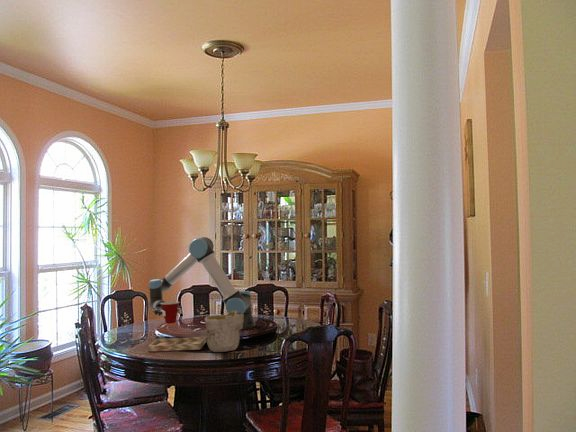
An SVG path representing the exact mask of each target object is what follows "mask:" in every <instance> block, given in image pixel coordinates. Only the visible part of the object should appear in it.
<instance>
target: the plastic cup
mask: <svg viewBox="0 0 576 432" xmlns="http://www.w3.org/2000/svg"><path fill="white" fill-rule="evenodd" d="M160 304H161V306H162V310H164V311H165V314H166V316H163V318H164V322H165V324H166V325H167V324H171V325H172V324H174V323H175V324H176V322H177V317H178V313H177V309H178V306H179V304H180V301H165V302H163V303H160Z"/></svg>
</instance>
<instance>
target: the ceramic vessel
mask: <svg viewBox="0 0 576 432" xmlns="http://www.w3.org/2000/svg"><path fill="white" fill-rule="evenodd" d="M243 318H244V315H243V314H242V313H239V312H237V311H231V312H230V313H228V312H227V314H220V315H219V314H214V315H209V316H205V318H204V323H205V329H206V343H207V346H208V349H209V350H210V351H211V352H212V353H223V352H231V351H235V350H237V348H238V347H239V345H240V330H244V329H243V322H244V319H243Z"/></svg>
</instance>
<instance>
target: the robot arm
mask: <svg viewBox="0 0 576 432" xmlns="http://www.w3.org/2000/svg"><path fill="white" fill-rule="evenodd" d="M214 246H215V245H214V242H213V240H212V239H211V238H209V237H205V236H203V237H197V238H195V239H193V240H192V241H191V242H190V243H189V245H188V252H189V253H188V254H187V255H186V256H185V257H184V258H183V259H182V260H181V261H180V262H179V263H178V264H176V266H174V267H173V268H172V269H171V270H170V271H169V272H168V273H167V274H166V275H164V276H163V278H161V279H159V278H156V279H150V280H149V281H148V283H149V285H148V287H149V288H148V289H149V302H148V306H149V308H150V310H152V312H153V313H154V315H155V316H157V315H158V316H163V317H164V316H166V314H165V311H164V310H162V306H161V304H160V303H163V302H166V301H165V300H163V293H165V292H167V291H169V290H170V289H171V287H172V286H174V284H176V282H177V281H178V280H179V279H181V278H182V276H184V275H185V274H187V272H188V271H190V269H192V268H193V267H194V265H196V264H197V263H199V264H202V266H203V267H204V269H205V270H206V272H207V274H208V275H209V276H210V278H211V280H212V282H213V283H214V285H215V286H216V288H217V289H218V291H219V293H220V294H221V296H222V302H223V303H224V305H225V311H226V312H227V314H228V313H230V312H231V311H237V312H239V313H242V314H243V315H244V318H243V319H244V322H243V329H242V330H249V329H252V328H255V327H256V322H255V318H254V316H253V313H252V312H253V311H252V310H253V309H252V295H251V294H252V293H251V291H250V290H239V289H236V288H235V287H234V285H233V283H232V281H230V279H229V277H228V275H227V273H226V272H225V271H224V270H223V268H222V267H221V265H220V263H219V262H218V260H217V259H216V257H215V255H216V254H215V253H216V252H215V251H214ZM182 310H183V307H182V306H181V305H178V309H177V314H180V315H181V314H182Z"/></svg>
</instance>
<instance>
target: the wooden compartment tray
mask: <svg viewBox="0 0 576 432" xmlns="http://www.w3.org/2000/svg"><path fill="white" fill-rule="evenodd" d="M206 343H207V336H197V337H196V336H194V337H171V338H170V337H169V338H156V339H155V340H153V341H152V343H150V344H149V345H148V346H147V347H148V349H147V350H148V352H165V351H166V352H167V351H169V352H170V351H192V350H193V351H194V350H201V349H202V348H203V347H204V346H205V344H206Z"/></svg>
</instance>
